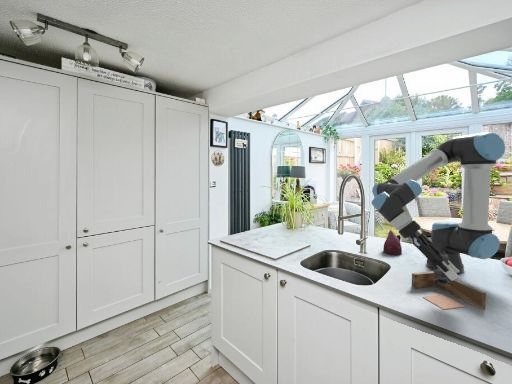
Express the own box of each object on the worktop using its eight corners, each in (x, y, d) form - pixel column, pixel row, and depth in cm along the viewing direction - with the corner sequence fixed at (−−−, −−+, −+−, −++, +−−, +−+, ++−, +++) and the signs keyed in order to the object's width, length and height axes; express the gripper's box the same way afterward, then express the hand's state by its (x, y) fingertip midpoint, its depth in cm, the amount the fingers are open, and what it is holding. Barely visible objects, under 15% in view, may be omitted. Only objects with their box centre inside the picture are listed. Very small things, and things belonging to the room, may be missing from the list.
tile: (442, 294, 99) (442, 294, 99) (465, 306, 90) (465, 306, 90) (422, 297, 98) (422, 296, 98) (443, 309, 89) (443, 308, 89)
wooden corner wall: (436, 284, 108) (436, 270, 108) (485, 309, 89) (486, 292, 88) (411, 286, 106) (411, 273, 106) (456, 312, 87) (457, 296, 86)
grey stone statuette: (433, 277, 97) (434, 247, 96) (452, 281, 94) (454, 250, 93) (432, 282, 93) (433, 250, 92) (452, 286, 89) (454, 254, 88)
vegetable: (381, 255, 156) (376, 231, 159) (399, 253, 154) (393, 229, 157) (387, 256, 146) (381, 230, 148) (406, 254, 144) (400, 228, 147)
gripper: (402, 227, 109) (447, 273, 99) (392, 235, 95) (444, 290, 86) (417, 216, 105) (465, 263, 96) (409, 223, 91) (465, 279, 82)
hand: (455, 275), depth 91 cm, fingers closed on grey stone statuette, 5 cm apart
